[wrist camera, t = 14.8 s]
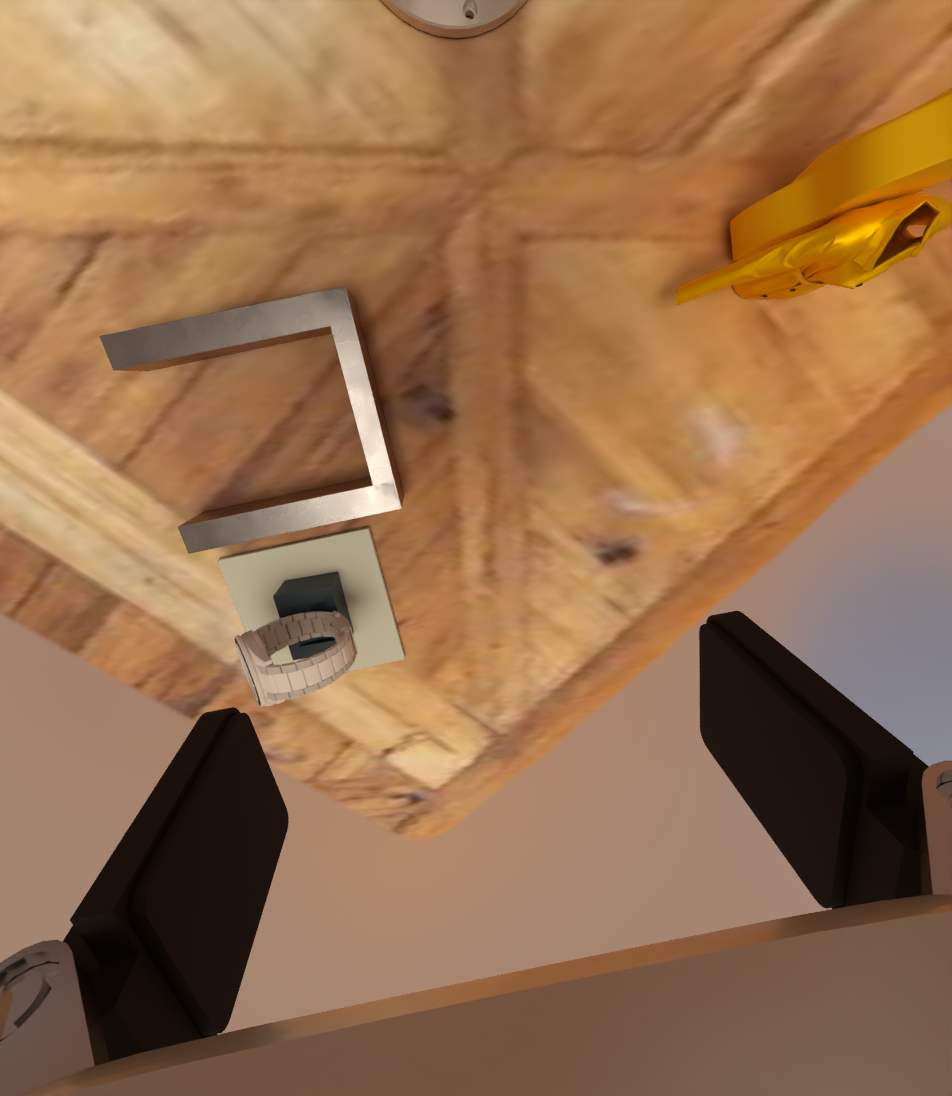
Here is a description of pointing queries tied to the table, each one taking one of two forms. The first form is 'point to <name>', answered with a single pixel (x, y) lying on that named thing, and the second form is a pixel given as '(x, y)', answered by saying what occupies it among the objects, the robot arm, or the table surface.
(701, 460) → the table surface
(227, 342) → the u-shaped metal bracket
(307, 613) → the watch
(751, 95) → the table surface
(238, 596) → the sage mat
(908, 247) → the figure statuette
